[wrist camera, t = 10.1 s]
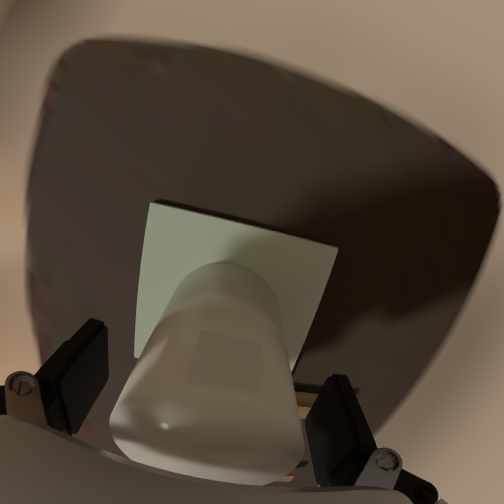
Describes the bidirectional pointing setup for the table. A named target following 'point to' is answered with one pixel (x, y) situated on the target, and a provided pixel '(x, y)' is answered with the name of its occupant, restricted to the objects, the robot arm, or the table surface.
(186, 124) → the table surface
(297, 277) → the sage tile
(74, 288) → the table surface
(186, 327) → the labeled white canister
